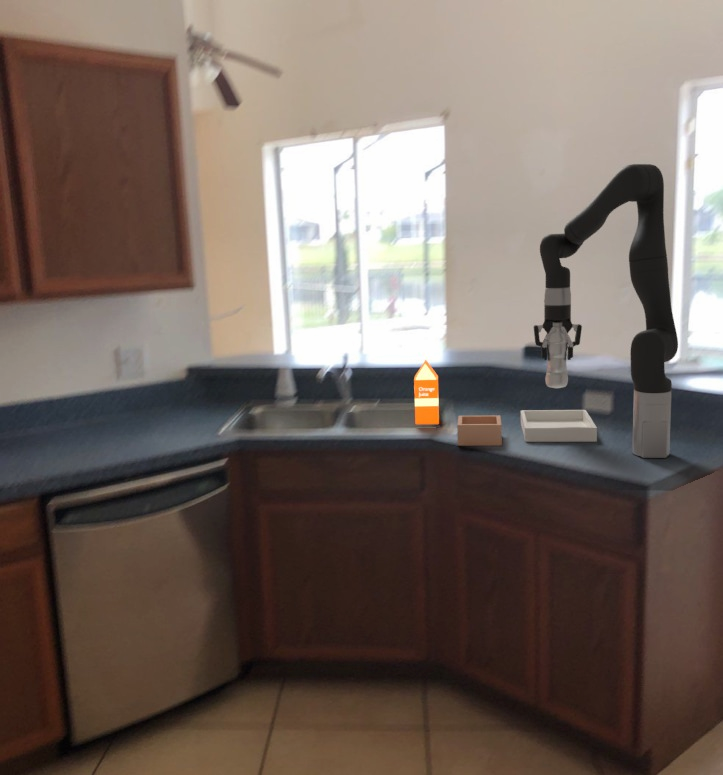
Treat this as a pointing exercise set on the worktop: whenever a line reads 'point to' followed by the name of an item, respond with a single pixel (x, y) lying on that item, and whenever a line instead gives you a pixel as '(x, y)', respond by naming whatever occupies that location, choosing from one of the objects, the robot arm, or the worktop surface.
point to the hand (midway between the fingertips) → (557, 359)
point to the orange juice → (426, 395)
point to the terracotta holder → (479, 430)
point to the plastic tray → (558, 426)
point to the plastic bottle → (557, 358)
